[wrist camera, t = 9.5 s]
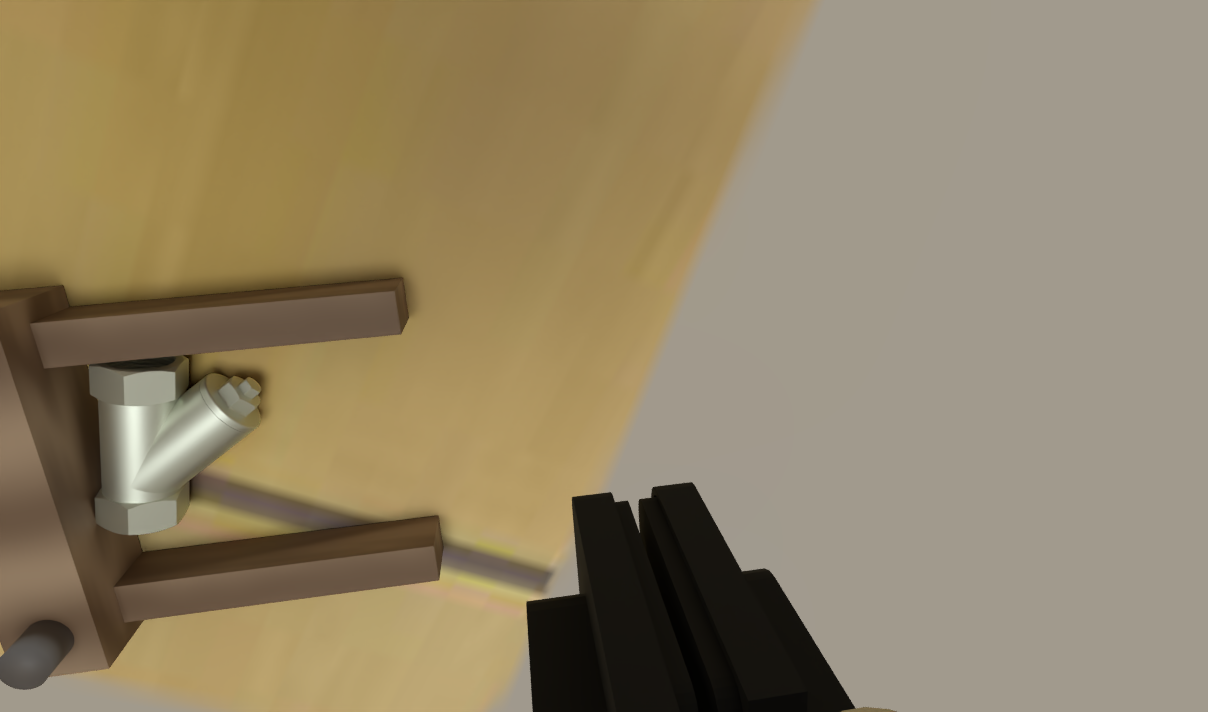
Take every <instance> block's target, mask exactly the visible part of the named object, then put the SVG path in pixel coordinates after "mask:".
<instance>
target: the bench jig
mask: <svg viewBox="0 0 1208 712" xmlns="http://www.w3.org/2000/svg"><path fill="white" fill-rule="evenodd" d="M408 318H409V316H408V309H407V302H406V296H405V289H404V282H403V278H394V279H383V280H371V281H360V282H348V283H337V284H325V285H314V286H303V287H291V288H280V289H268V290H257V291H245V292H234V293H222V294H211V295H200V296H188V297H177V298H165V299H154V300H142V301H131V302H119V303H108V304H96V305H85V306H74V307H69V304H68V300H67V297H66V294H65V290H64V287H63V286H51V287H40V288H28V289H16V290H4V291H0V642H1V645H2V648H3V650H4V654H3V655H2V656H1V657H0V679H1V681H2V682H4V683H5V684H6V685H8V686H10V687H13V688H16V689H23V690H25V689H33V688H36V687H38V686H40V685H42V684H43V683H44V682H45V681H46V680H47V678H48V677H52V676H59V675H66V674H74V673H81V672H88V671H95V670H102V669H109V668H110V667H111V665H112V664H113V662H114V661H115V660H116V658H117V657H118V655H119V654H120V653H121V651H122V650H123V648H124V647H125V646H126V644H127V643H128V641H129V640H130V639H131V637H132V636H133V635H134V633H135V632H136V630H137V629H138V628H139V626H140V625H141V623H142V622H143V621H144V620H147V619H154V618H162V617H169V616H177V615H184V614H192V613H199V612H207V611H214V610H221V609H229V608H236V607H244V606H251V605H259V604H266V603H274V602H281V601H289V600H296V599H304V598H311V597H318V596H326V595H333V594H341V593H348V592H356V591H363V590H371V589H378V588H386V587H393V586H401V585H408V584H415V583H423V582H430V581H438V580H439V577H440V570H441V562H442V554H443V543H442V536H441V529H440V523H439V516H431V517H423V518H415V519H407V520H399V521H391V522H383V523H375V524H367V525H359V526H351V527H343V528H335V529H327V530H319V531H311V532H302V533H294V534H286V535H278V536H270V537H262V538H254V539H246V540H238V541H230V542H222V543H214V544H206V545H198V546H190V547H182V548H174V549H165V550H157V551H149V552H142V550H141V546H140V543H139V539H138V536H137V535H122V534H117V533H114V532H111V531H109V530H107V529H105V528H103V527H101V526H100V525H98V524H97V523H96V518H95V497H96V495H97V493H98V492H99V490H100V489H101V488H102V482H101V458H100V434H99V411H98V401H97V398H95V397H94V396H92V395H90V385H89V371H88V368H87V364H96V363H107V362H117V361H128V360H138V359H149V358H159V357H169V356H180V355H190V354H201V353H211V352H222V351H232V350H242V349H253V348H263V347H274V346H284V345H295V344H305V343H315V342H326V341H336V340H347V339H357V338H368V337H378V336H388V335H399V334H402V331H403V329H404V327H405V325H406V323H407V321H408Z"/></svg>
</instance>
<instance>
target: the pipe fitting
mask: <svg viewBox="0 0 1208 712" xmlns="http://www.w3.org/2000/svg"><path fill="white" fill-rule="evenodd" d="M89 385H90V395H92V396H94V397H95V398H97V399H98V411H99V434H100V458H101V482H102V488H101V489H100V490H99V492H98V493H97V495H96V497H95V518H96V523H97V524H98V525H100V526H101V527H103V528H105V529H107V530H109V531H111V532H114V533H117V534H122V535H142V534H149V533H154V532H158V531H162V530H165V529H168V528H170V527H173V526H175V525H177V524H178V523H179V522H180V521H181V520H182V518H183V517H184V515H185V513H186V511H187V509H188V507H189V505H190V504H189V480H191V479H192V478H193V477H194V476H196V475H197V474H198V473H200V472H201V471H202V470H203V469H205V468H206V467H207V466H208V465H210V464H211V463H212V462H214V461H215V460H216V459H217V458H219V457H220V456H221V455H223V454H224V453H225V452H226V451H228V450H229V449H230V448H232V447H233V446H234V445H235V444H237V443H238V442H239V441H241V440H242V439H243V438H244V437H246V436H247V435H248V434H249V433H251V432H252V431H253V430H255V429H256V428H257V427H258V426H259V425H260V422H261V417H260V413H259V410H258V408H257V406H258V405H259V404H260V398H259V395H258V394H259V393H260V392H261V390H262V389H261V387H260V385H259V384H258V383H257V382H256V381H255V380H254V379H252V378H250V377H247V378H246V379H245V380H243V379H242V378H239V377H237V376H233V377H232V378H230V379H229V378H227V377H225V376H223V375H220V374H216V373H211V374H208V375H207V376H205V377H204V378H203V379H202V380H200V381H199V382H198V383H197V384H195V385H194V386H193V387H191V388H190V389H189V390H188V391H186V389H187V387H188V385H189V359H188V358H186V357H185V356H183V355H180V356H169V357H159V358H149V359H138V360H128V361H117V362H107V363H96V364H90V365H89ZM185 391H186V392H185ZM184 392H185V393H184Z"/></svg>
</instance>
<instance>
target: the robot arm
mask: <svg viewBox="0 0 1208 712" xmlns="http://www.w3.org/2000/svg"><path fill="white" fill-rule="evenodd" d="M572 509H573V522H574V533H575V545H576V557H577V568H578V580H579V591H580V594H578V595H570V596H563V597H556V598H549V599H542V600H535V601H527V603H526V605H527V624H528V640H529V656H530V672H531V688H532V689H531V690H532V706H533V712H896V711H893V710H890V709H880V708H869V707H863V708H857V709H855V707H854V705H853V704H852V702H851V700H850V699H849V697H848V696H847V694H846V692H845V691H844V689H843V687H842V686H841V684H840V683H839V681H838V679H837V678H836V676H835V675H834V673H833V671H832V670H831V668H830V666H829V665H828V663H827V662H826V660H825V658H824V657H823V655H822V653H821V652H820V650H819V648H818V647H817V645H816V644H815V642H814V640H813V639H812V637H811V635H810V634H809V632H808V631H807V629H806V628H805V626H804V624H803V622H802V621H801V619H800V618H799V616H798V614H797V613H796V611H795V609H794V608H793V606H792V605H791V603H790V601H789V600H788V598H787V596H786V595H785V593H784V592H783V590H782V588H781V587H780V585H779V583H778V582H777V580H776V579H775V577H774V576H773V574H772V573H771V572H770V571H769V570H767V569H757V570H751V571H743V572H742V571H741V569H740V567H739V565H738V564H737V562H736V560H735V558H734V556H733V554H732V553H731V551H730V549H729V547H728V546H727V544H726V542H725V540H724V538H723V536H722V534H721V533H720V531H719V529H718V527H717V525H716V523H715V522H714V520H713V518H712V516H711V514H710V513H709V511H708V509H707V507H706V505H705V503H704V502H703V500H702V498H701V496H700V494H699V493H698V491H697V489H696V487H695V485H694V484H693V483H692V482H691V483H682V484H673V485H665V486H658V487H653V488H652V494H651V498H645V499H640V500H639V527H640V533H639V530H638V528H637V525H636V522H635V519H634V516H633V513H632V510H631V507H630V505H629V502H628V501H621V502H615V501H614V498H613V495H612V493H611V492H609V493H601V494H593V495H585V496H577V497H572Z"/></svg>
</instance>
